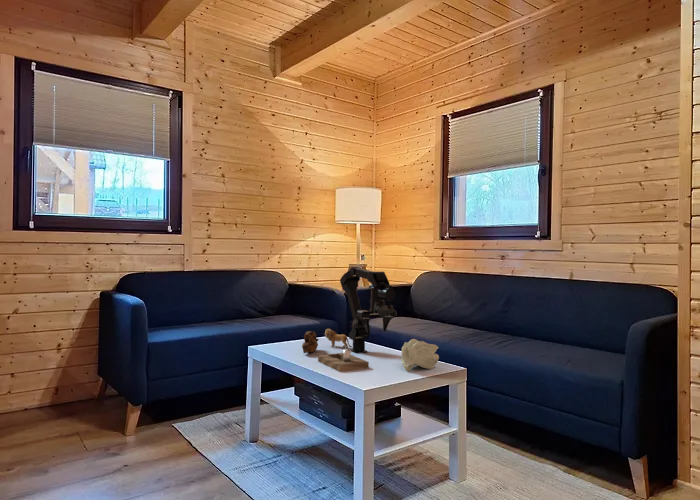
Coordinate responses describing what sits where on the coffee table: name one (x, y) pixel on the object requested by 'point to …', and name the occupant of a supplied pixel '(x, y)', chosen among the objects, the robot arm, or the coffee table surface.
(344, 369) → the keyhole plate
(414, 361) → the folded clay sculpture
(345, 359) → the steel peg
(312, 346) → the wooden carving
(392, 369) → the coffee table surface
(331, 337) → the lion figurine
